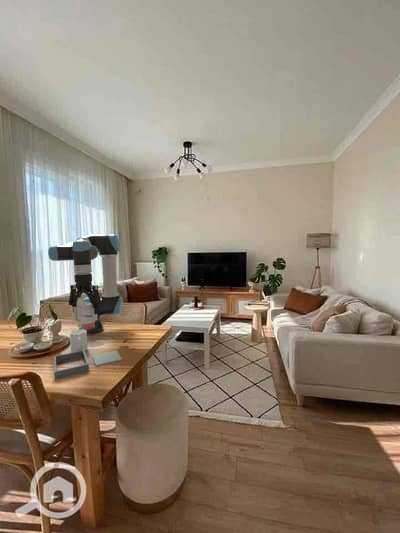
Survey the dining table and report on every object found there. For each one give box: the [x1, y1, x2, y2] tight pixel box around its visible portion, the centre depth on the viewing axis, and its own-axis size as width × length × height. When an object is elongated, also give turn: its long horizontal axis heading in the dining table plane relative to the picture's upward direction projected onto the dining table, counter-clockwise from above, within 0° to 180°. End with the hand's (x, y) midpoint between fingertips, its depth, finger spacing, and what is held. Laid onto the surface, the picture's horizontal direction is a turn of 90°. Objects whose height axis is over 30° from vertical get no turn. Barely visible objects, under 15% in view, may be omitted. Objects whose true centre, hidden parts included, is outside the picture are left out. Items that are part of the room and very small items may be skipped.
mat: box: [91, 350, 123, 368], centre depth 125 cm, size 12×12×1 cm
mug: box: [69, 329, 88, 353], centre depth 135 cm, size 12×8×10 cm
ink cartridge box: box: [76, 297, 95, 330], centre depth 119 cm, size 9×5×15 cm, turn 49°
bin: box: [53, 350, 90, 381], centre depth 117 cm, size 18×13×4 cm
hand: (86, 320), depth 119 cm, fingers closed on ink cartridge box, 9 cm apart
